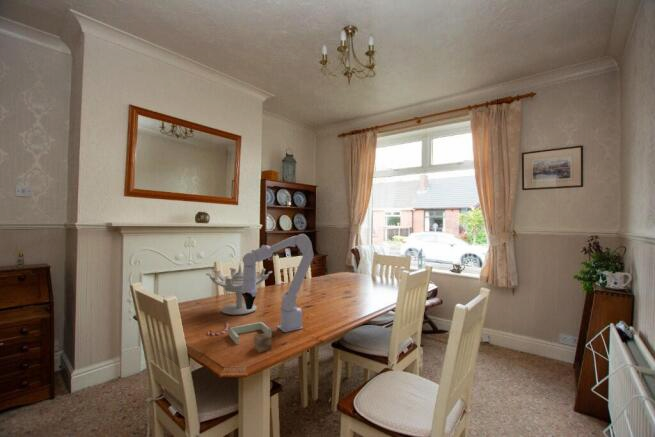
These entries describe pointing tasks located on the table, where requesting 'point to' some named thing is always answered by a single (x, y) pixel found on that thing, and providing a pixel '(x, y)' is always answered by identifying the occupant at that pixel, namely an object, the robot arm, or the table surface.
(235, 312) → the candelabra
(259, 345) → the tan cube
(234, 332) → the sage corner frame
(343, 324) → the table surface
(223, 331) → the candy cane
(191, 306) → the table surface
